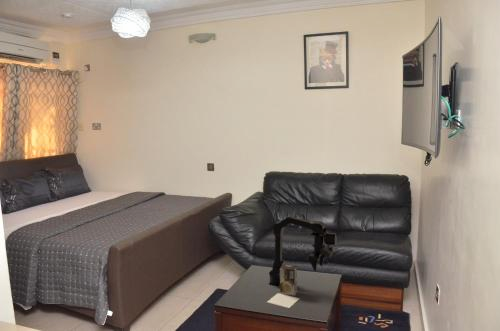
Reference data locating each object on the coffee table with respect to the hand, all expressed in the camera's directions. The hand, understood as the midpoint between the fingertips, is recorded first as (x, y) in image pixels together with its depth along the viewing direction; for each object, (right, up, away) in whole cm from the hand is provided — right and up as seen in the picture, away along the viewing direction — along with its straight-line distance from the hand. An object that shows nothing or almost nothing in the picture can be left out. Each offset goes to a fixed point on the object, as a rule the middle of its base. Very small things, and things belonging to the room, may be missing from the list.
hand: (318, 268), depth 234 cm
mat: (-22, -15, -11) cm, 29 cm away
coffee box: (-18, -15, -1) cm, 23 cm away
